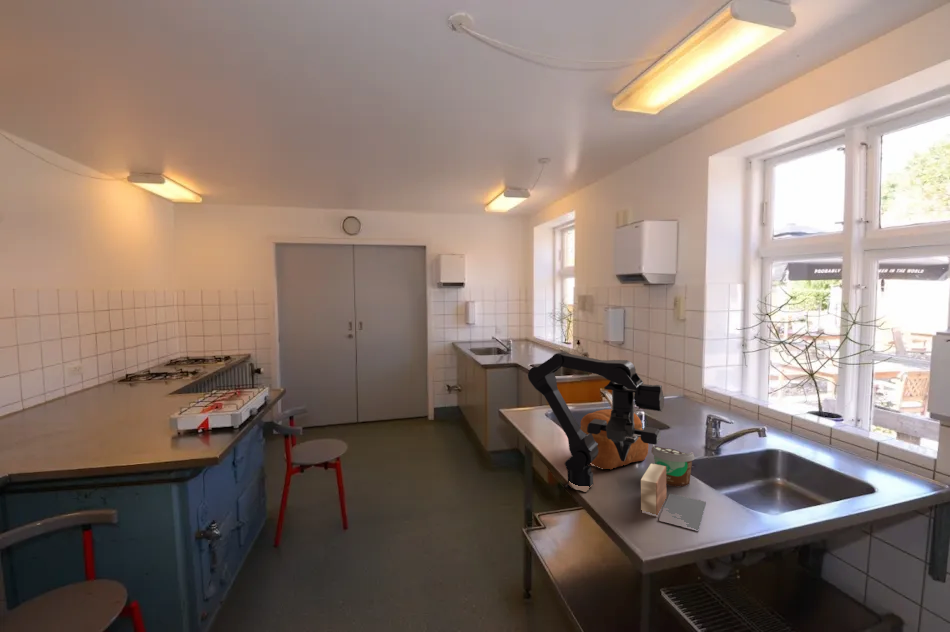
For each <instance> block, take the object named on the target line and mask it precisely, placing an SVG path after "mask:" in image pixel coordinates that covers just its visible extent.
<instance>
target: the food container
mask: <svg viewBox="0 0 950 632" xmlns="http://www.w3.org/2000/svg"><path fill="white" fill-rule="evenodd" d="M651 454H652V455H653V459H654V464H657V465H662V466H666V484H667V485H666V486H669V485H670V486H671V487H677V486H681V487H686V485H687V486H689V485H690V481H691V475H692V474H691V473H692V466H693V461H694V460H695V454H694V452H693V451H691V452H690V453H689V452H688V453H686V452H682V451H680V450H676V449H673V448H668V447H667V448H666V447H660V446H657V445H656V444H655V445H654V444H652V446H651ZM688 484H689V485H688Z"/></svg>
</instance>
